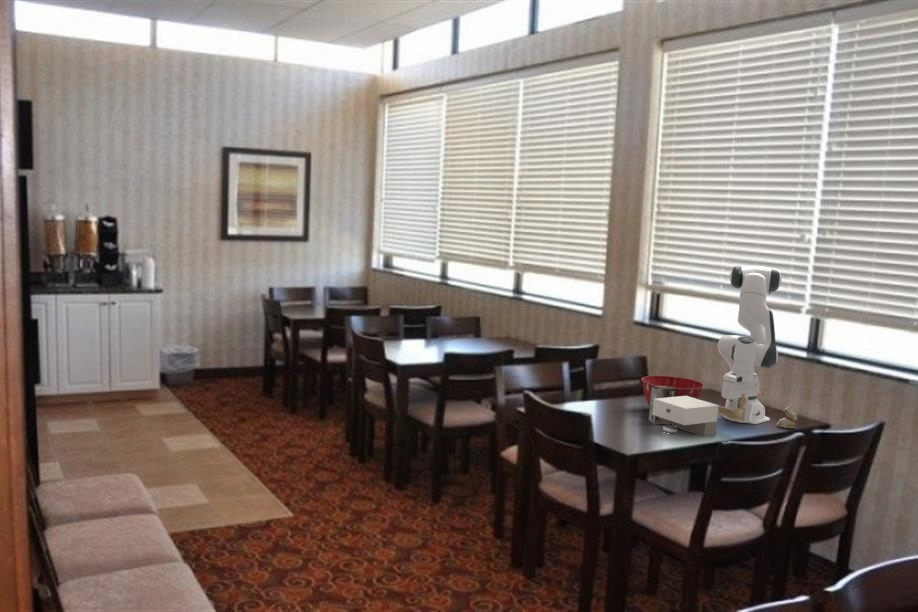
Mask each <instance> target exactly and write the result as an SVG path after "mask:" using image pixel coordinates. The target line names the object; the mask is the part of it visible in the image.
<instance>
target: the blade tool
mask: <svg viewBox="0 0 918 612" xmlns="http://www.w3.org/2000/svg"><path fill="white" fill-rule="evenodd" d="M746 398H747V394H742V397H741V398H738V401H737V403H738V404H739V407H738V408H733V410H732V409H729V408H725V406H722V405H719V407H718V415H720V416H722V417H723V416H725V417H728V418H731V419H732V420H735V421H734V422H736V421H738V422H737V423H742V422H741V421H744V417H745V407H746ZM705 401H706V400H705ZM706 402H709V403H712V404H714V403H713V402H710V401H706Z"/></svg>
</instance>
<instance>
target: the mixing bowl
mask: <svg viewBox="0 0 918 612" xmlns="http://www.w3.org/2000/svg"><path fill="white" fill-rule="evenodd" d="M640 379H641V383H642V388H643V393H644V396H645V399H646V402H647V404H648V406H649V407H650V400H651V388H652V386H670V387H673V388H675V389H676V395H675V397H678V396H689V397H692V398H696V399H699V400H700V397H701V393H702V391H703V387H704V386H705V385H704V382H703V383H702V382H701V381H698V380H695V379H691V378H685V377H680V376H672V375H669V376H668V375H648V376H643V377H641V378H640Z"/></svg>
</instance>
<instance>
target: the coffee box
mask: <svg viewBox="0 0 918 612" xmlns="http://www.w3.org/2000/svg"><path fill="white" fill-rule="evenodd" d="M675 395H676V389H675V388H673V387H670V386H652V388H651V400H650V406H649V412H648V413H649V415H648V421H649V420H650V421H651V423H652V422H653V423H652V424H654V423H655V424H654V425H672V423H673V421H670V420H667V419H664V418H661V417H658V416H655V415H652V414H653V403H654V399H656V398H667V397H675ZM650 421H649V422H650Z"/></svg>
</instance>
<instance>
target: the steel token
mask: <svg viewBox="0 0 918 612" xmlns="http://www.w3.org/2000/svg"><path fill="white" fill-rule="evenodd" d="M663 432H665V433H664V434H666V433H669V434H668V435H677V434H678V427H675V426H672V425H671V424H663V426H662V433H663Z"/></svg>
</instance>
